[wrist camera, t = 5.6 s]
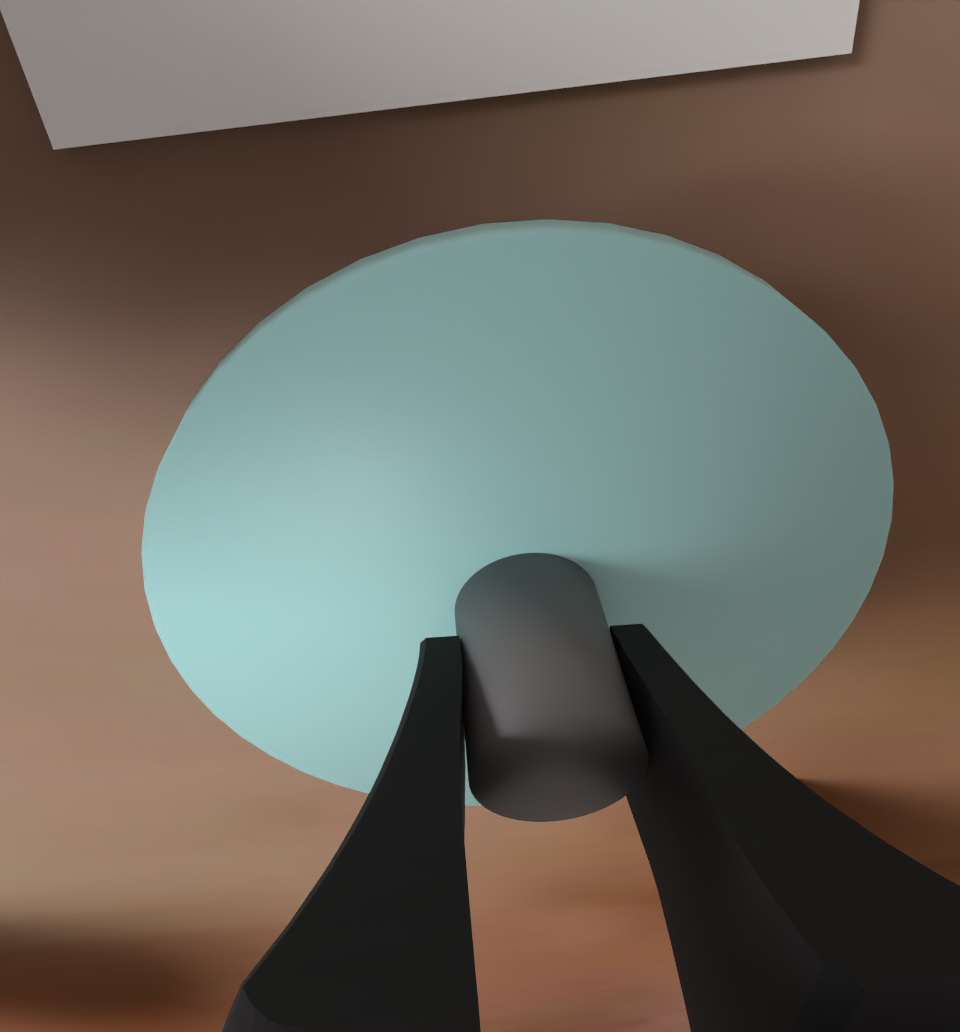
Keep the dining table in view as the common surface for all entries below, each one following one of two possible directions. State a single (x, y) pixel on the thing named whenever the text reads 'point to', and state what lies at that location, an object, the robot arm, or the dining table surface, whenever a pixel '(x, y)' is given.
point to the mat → (372, 54)
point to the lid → (515, 504)
